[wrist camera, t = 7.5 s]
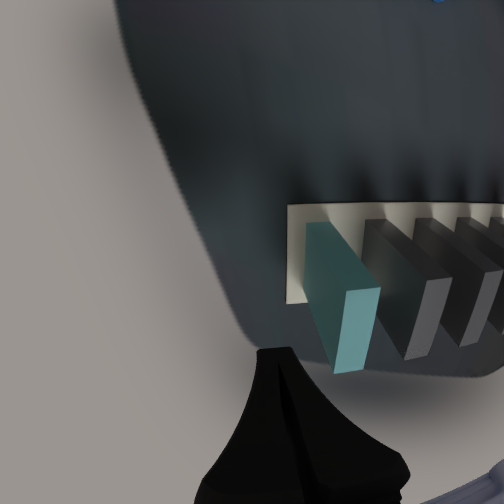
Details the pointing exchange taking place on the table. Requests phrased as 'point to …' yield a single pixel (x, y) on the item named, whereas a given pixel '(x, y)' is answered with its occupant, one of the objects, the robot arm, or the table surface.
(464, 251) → the tile
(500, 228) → the tile
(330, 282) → the tile teal
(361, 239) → the mat
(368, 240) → the tile
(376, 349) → the table surface
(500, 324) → the tile
